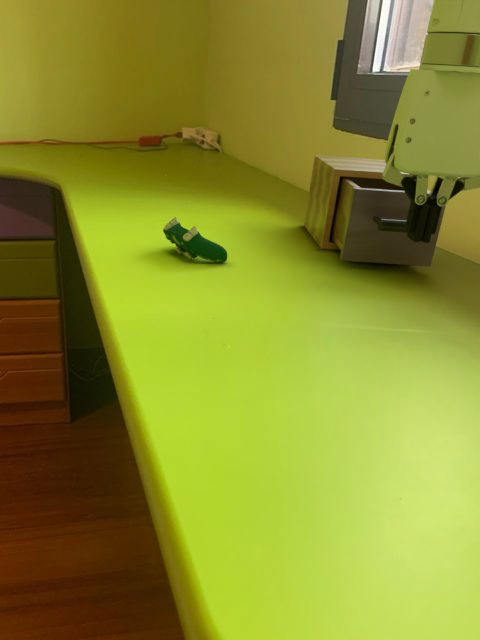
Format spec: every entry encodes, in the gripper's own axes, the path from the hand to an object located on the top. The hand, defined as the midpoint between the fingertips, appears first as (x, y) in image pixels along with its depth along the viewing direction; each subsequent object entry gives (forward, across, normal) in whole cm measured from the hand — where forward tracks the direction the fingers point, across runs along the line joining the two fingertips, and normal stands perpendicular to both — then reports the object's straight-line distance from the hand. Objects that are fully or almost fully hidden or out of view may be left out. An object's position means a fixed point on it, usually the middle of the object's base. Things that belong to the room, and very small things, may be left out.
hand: (417, 239), depth 78 cm
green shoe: (+6, +25, -11) cm, 28 cm away
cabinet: (+6, 0, -28) cm, 28 cm away
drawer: (+5, 0, -14) cm, 15 cm away
